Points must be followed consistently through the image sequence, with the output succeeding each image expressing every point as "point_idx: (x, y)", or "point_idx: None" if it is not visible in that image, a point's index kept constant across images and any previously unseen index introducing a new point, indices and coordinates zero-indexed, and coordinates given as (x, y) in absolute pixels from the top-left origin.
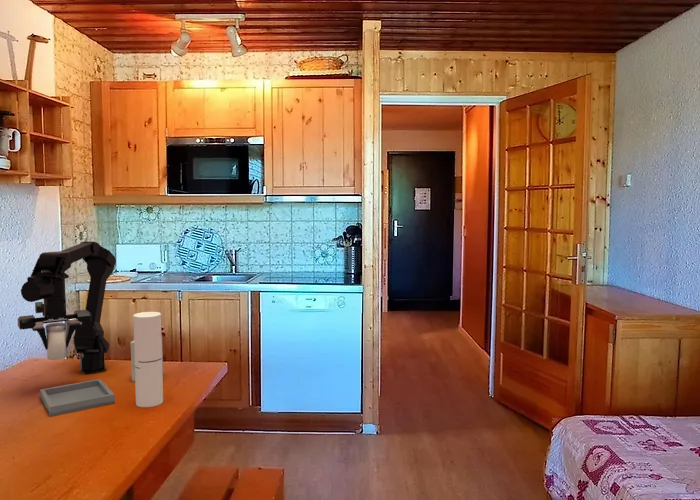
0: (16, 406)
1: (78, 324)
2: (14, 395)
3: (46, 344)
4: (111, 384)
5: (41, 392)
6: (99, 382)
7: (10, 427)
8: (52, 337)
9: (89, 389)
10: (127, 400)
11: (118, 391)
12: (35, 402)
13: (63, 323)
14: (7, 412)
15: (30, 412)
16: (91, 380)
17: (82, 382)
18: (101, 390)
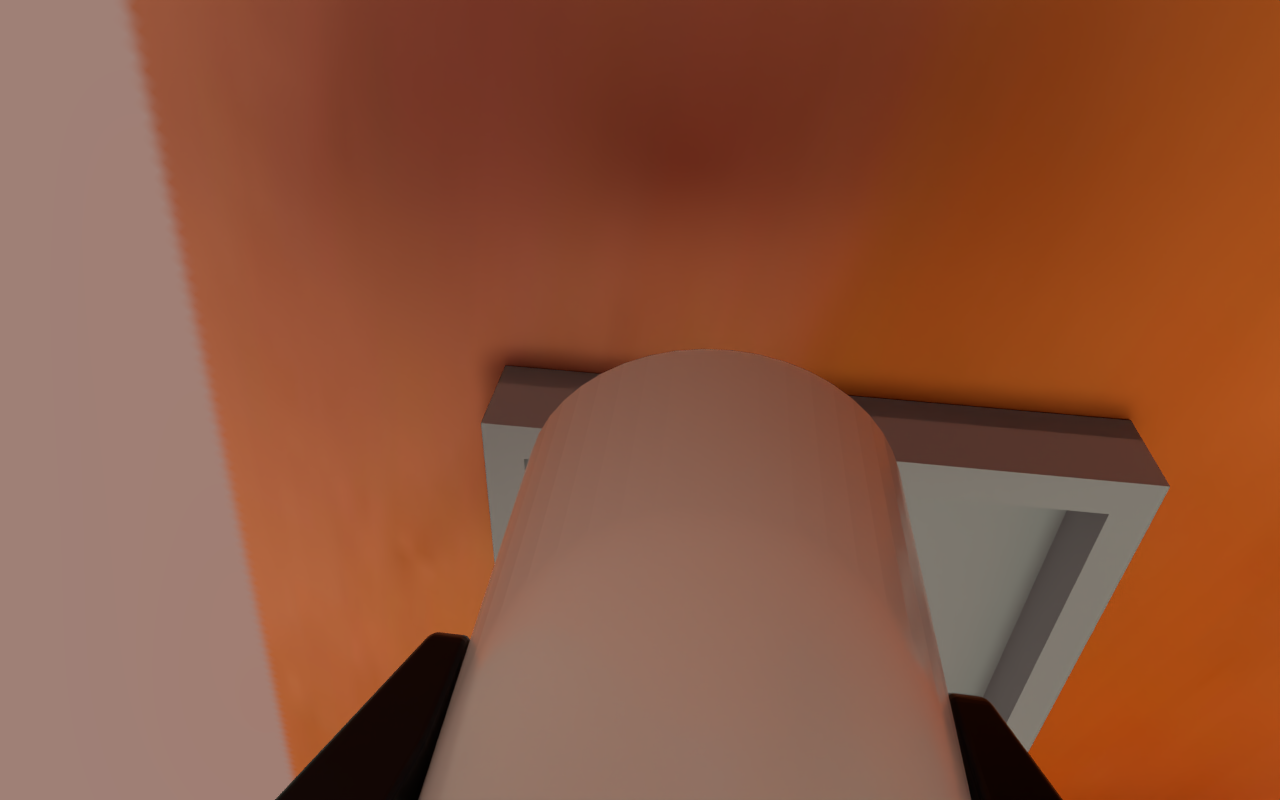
0: (302, 433)
1: None
2: (239, 89)
3: None
4: (1274, 414)
5: (489, 502)
6: (1078, 580)
7: (305, 719)
8: None
9: (960, 510)
10: (1065, 778)
11: (1159, 614)
12: (456, 439)
13: None
14: (249, 510)
15: (414, 600)
16: (1059, 476)
17: (941, 481)
18: (1028, 593)
